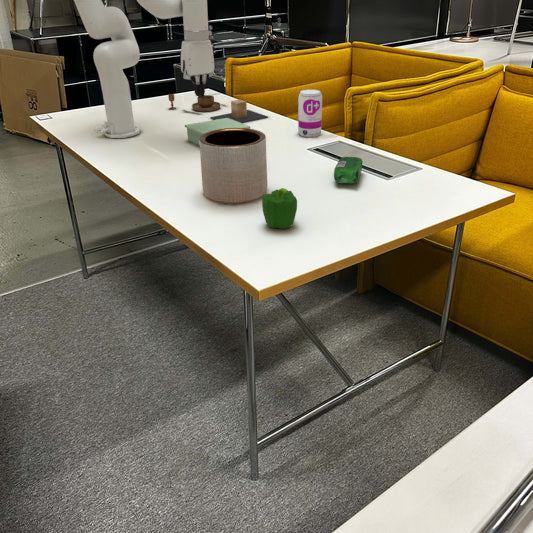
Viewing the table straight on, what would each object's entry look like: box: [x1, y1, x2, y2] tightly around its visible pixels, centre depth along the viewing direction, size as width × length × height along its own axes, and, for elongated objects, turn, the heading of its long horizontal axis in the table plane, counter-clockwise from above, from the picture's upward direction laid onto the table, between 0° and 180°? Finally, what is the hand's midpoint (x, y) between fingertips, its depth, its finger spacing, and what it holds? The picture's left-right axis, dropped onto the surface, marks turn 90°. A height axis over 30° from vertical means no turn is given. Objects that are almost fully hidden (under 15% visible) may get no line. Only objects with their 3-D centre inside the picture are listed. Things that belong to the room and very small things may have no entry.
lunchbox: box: [186, 128, 201, 146], centre depth 192 cm, size 17×15×5 cm
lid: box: [184, 118, 251, 135], centre depth 190 cm, size 17×15×1 cm
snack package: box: [333, 156, 364, 185], centre depth 159 cm, size 7×16×5 cm, turn 164°
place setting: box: [167, 93, 227, 115], centre depth 235 cm, size 18×20×6 cm
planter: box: [199, 128, 268, 204], centre depth 149 cm, size 18×18×16 cm
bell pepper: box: [261, 187, 298, 230], centre depth 132 cm, size 8×8×10 cm
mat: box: [210, 109, 269, 124], centre depth 220 cm, size 18×14×1 cm
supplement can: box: [297, 88, 323, 138], centre depth 196 cm, size 8×8×15 cm
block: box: [230, 99, 248, 119], centre depth 219 cm, size 4×4×6 cm
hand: (199, 95), depth 182 cm, fingers closed
